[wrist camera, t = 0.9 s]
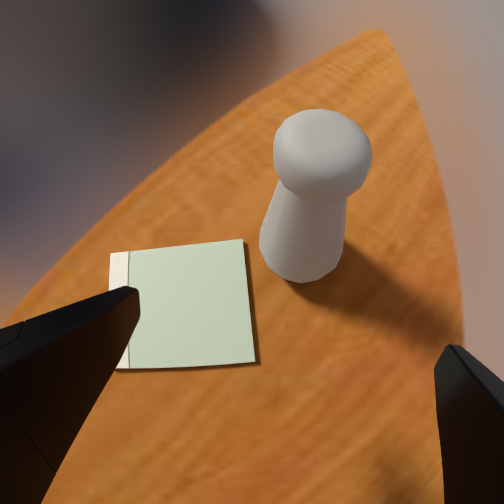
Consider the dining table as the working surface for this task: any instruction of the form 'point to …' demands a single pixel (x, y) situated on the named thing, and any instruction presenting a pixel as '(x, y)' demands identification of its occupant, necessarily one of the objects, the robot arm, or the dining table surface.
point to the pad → (187, 305)
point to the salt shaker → (312, 192)
